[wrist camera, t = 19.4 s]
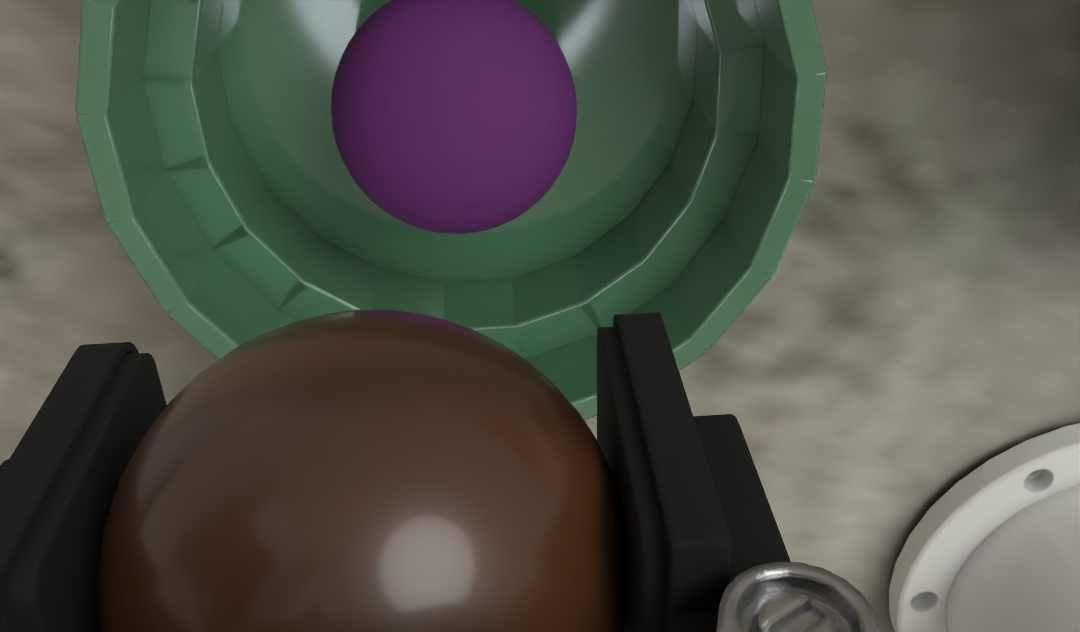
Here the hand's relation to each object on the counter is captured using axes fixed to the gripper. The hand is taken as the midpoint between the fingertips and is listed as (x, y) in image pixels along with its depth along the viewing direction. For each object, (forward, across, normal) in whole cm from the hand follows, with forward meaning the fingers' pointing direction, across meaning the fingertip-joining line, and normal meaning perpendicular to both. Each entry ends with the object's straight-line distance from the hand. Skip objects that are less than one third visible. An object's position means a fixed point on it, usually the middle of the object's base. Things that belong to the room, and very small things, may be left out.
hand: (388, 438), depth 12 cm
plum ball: (+11, -1, 0) cm, 11 cm away
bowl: (+14, -1, 0) cm, 14 cm away
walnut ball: (-2, 0, 0) cm, 2 cm away
